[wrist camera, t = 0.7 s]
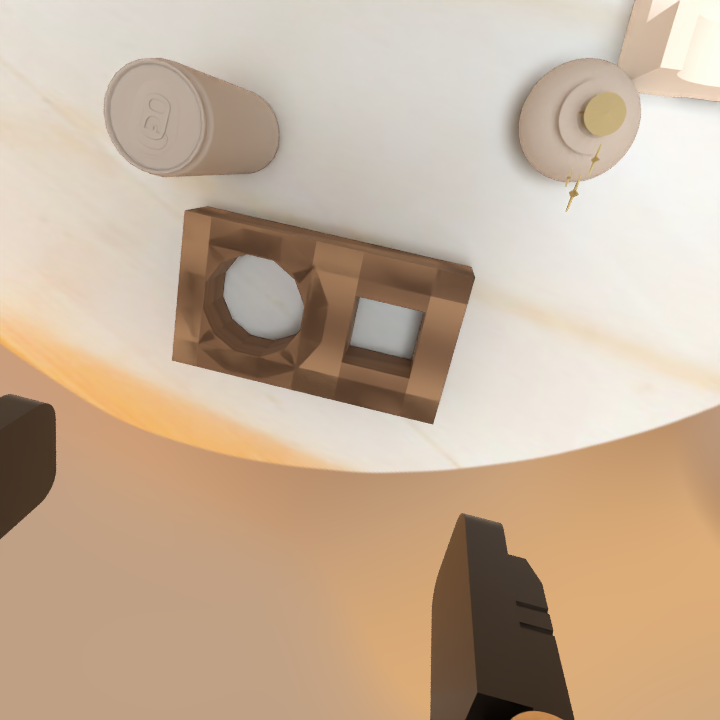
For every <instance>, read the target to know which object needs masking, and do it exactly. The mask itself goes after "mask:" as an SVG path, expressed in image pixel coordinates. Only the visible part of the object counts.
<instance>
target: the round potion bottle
mask: <svg viewBox="0 0 720 720" xmlns="http://www.w3.org/2000/svg"><path fill="white" fill-rule="evenodd" d="M640 118H641V105H640V98H639V94H638V91H637V89H636V86H635V85H634V83H633V81H632V80H631V78H630V77H629V76H628V75H627V74H626V73H625V72H624V71H623V70H622V69H621V68H619V67H618V66H616V65H615V64H612V63H610V62H608V61H604V60H601V59H593V58H586V59H578V60H573V61H570V62H567V63H564V64H562V65H560V66H558V67H556V68H554V69H553V70H551V71H550V72H548V73H547V74H546V75H545V76H544V77H543V78H541V79H540V80H539V82H538V83H537V84H536V85H535V86H534V88H533V89H532V90H531V92H530V94H529V95H528V97H527V99H526V101H525V103H524V105H523V108H522V111H521V115H520V121H519V138H520V143H521V147H522V150H523V152H524V154H525V156H526V158H527V159H528V161H529V162H530V164H531V165H532V166H533V167H534V168H535V169H536V170H537V171H539V172H540V173H542V174H543V175H545V176H547V177H549V178H551V179H554V180H558V181H563V182H566V185H567V183H568V182H577V183H576V185H575V188H574V190H573V191H571V192H569V194H570V196H571V198H570V200H569V203H568V206H567V209H566V212H567V210H568V208H569V206H570V204H571V202H572V199H573V197H575V196H577V195H579V194H578V193H577V191H576V190H577V187H578V184H579V181H584V180H588V179H591V178H594V177H596V176H598V175H600V174H602V173H604V172H606V171H607V170H609V169H610V168H612V167H613V166H614V165H615V164H616V163H617V162H618V161H620V159H621V158H622V157H623V156H624V155H625V154H626V152H627V151H628V149H629V148H630V146H631V145H632V143H633V141H634V139H635V137H636V134H637V131H638V128H639V124H640ZM566 185H565V187H566Z"/></svg>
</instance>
